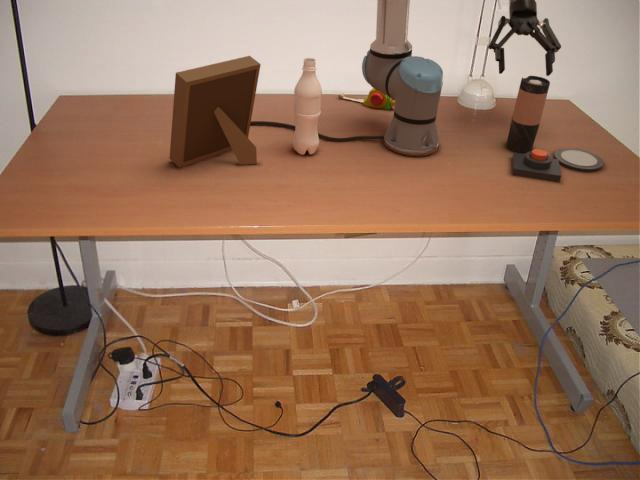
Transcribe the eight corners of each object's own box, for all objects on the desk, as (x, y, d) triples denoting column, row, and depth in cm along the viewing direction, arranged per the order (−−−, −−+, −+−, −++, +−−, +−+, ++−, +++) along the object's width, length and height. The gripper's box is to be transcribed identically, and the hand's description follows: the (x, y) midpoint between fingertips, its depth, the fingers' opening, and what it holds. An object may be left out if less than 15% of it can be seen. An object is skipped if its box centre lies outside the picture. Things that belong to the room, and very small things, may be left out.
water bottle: (322, 149, 175) (328, 58, 161) (311, 159, 170) (316, 66, 156) (299, 143, 177) (303, 53, 164) (287, 152, 172) (290, 61, 158)
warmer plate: (555, 168, 173) (556, 164, 173) (552, 148, 184) (553, 144, 183) (605, 175, 171) (606, 172, 171) (599, 155, 182) (600, 151, 181)
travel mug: (533, 155, 179) (551, 86, 168) (505, 152, 180) (522, 83, 169) (531, 144, 185) (549, 77, 174) (504, 140, 186) (520, 74, 175)
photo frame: (169, 161, 164) (162, 65, 150) (237, 139, 177) (235, 49, 163) (204, 183, 155) (199, 84, 141) (272, 158, 168) (273, 65, 155)
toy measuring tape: (392, 113, 199) (395, 93, 195) (335, 100, 205) (337, 80, 202) (399, 107, 204) (402, 87, 200) (343, 94, 210) (345, 75, 206)
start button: (530, 160, 168) (532, 154, 167) (530, 154, 171) (531, 148, 170) (546, 162, 168) (547, 156, 167) (545, 156, 171) (547, 150, 170)
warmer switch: (512, 175, 168) (515, 161, 166) (511, 159, 177) (515, 145, 174) (559, 182, 166) (563, 168, 164) (556, 165, 175) (560, 152, 172)
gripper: (559, 13, 188) (563, 80, 184) (475, 8, 187) (477, 76, 182) (570, -2, 181) (575, 68, 176) (483, -6, 179) (486, 64, 175)
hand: (525, 72), depth 179 cm, fingers open, 13 cm apart
